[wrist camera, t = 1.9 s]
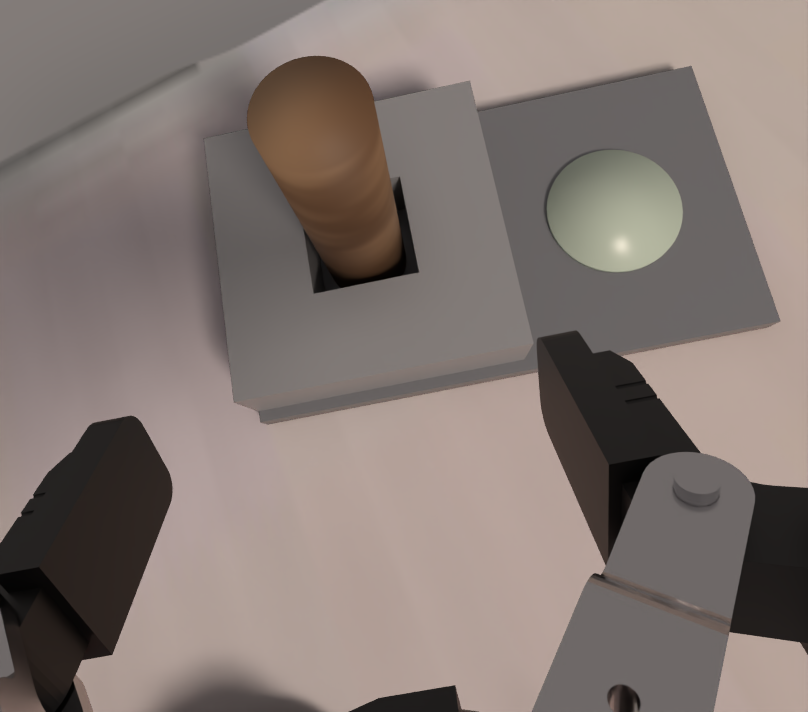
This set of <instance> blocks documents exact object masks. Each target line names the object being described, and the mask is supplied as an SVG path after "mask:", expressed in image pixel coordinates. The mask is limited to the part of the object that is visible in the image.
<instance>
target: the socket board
mask: <svg viewBox="0 0 808 712" xmlns="http://www.w3.org/2000/svg"><path fill="white" fill-rule="evenodd" d="M374 103H375V108H376V113H377V117H378V122H379V127H380V132H381V137H382V142H383V146H384V151H385V156H386V161H387V166H388V171H389V175H390V180H391V185H392V190H393V195H394V200H395V204H396V209H397V214H398V219H399V224H400V229H401V233H402V238H403V243H404V248H405V253H406V267H405V271H404V274H403V276H399V277H394V278H389V279H384V280H379V281H374V282H369V283H364V284H359V285H355V286H350V287H345V288H340V287H339V286H338V285H337V283H336V282H335V280H334V279H333V277H332V275H331V274H330V272H329V270H328V269H327V267H326V265H325V263H324V262H323V260H322V258H321V257H320V255H319V253H318V252H317V250H316V248H315V247H314V245H313V243H312V241H311V240H310V238H309V236H308V235H307V233H306V231H305V230H304V228H303V226H302V225H301V223H300V221H299V219H298V218H297V216H296V214H295V213H294V211H293V209H292V208H291V206H290V204H289V203H288V201H287V199H286V197H285V196H284V194H283V192H282V191H281V189H280V187H279V186H278V184H277V182H276V181H275V179H274V177H273V175H272V174H271V172H270V170H269V169H268V167H267V165H266V164H265V162H264V160H263V159H262V157H261V155H260V153H259V152H258V150H257V148H256V147H255V145H254V143H253V141H252V140H251V137H250V134H249V131H248V129H245V130H241V131H236V132H231V133H227V134H222V135H218V136H213V137H208V138H204V146H205V155H206V164H207V172H208V181H209V190H210V199H211V208H212V216H213V225H214V234H215V243H216V251H217V260H218V269H219V278H220V286H221V295H222V304H223V313H224V321H225V330H226V339H227V348H228V356H229V365H230V374H231V383H232V392H233V400H234V403H237V404H240V405H243V406H245V407H248V408H251V409H254V410H257V411H259V415H260V422H261V423H264V424H273V423H278V422H283V421H288V420H293V419H298V418H303V417H309V416H314V415H319V414H324V413H329V412H334V411H339V410H345V409H350V408H355V407H360V406H365V405H370V404H376V403H381V402H386V401H391V400H396V399H401V398H406V397H412V396H417V395H422V394H427V393H432V392H437V391H442V390H448V389H453V388H458V387H463V386H468V385H473V384H479V383H484V382H489V381H494V380H499V379H504V378H509V377H515V376H520V375H525V374H530V373H535V372H538V361H537V339H538V338H539V337H544V336H549V335H554V334H559V333H564V332H569V331H574V330H577V331H578V332H579V333H580V334H581V336H582V337H583V339H584V340H585V342H586V343H587V345H588V346H589V348H590V349H591V351H592V352H593V353H598V352H603V351H608V350H611V351H612V352H614V353H616V354H618V355H619V356H623V355H628V354H633V353H638V352H643V351H648V350H654V349H659V348H664V347H669V346H674V345H679V344H685V343H690V342H695V341H700V340H705V339H710V338H715V337H721V336H726V335H731V334H736V333H741V332H746V331H751V330H757V329H762V328H767V327H770V326H772V325H774V324H776V323H778V322H780V318H779V315H778V313H777V310H776V307H775V304H774V301H773V298H772V295H771V292H770V290H769V287H768V284H767V281H766V278H765V275H764V272H763V270H762V267H761V264H760V261H759V258H758V255H757V252H756V250H755V247H754V244H753V241H752V238H751V235H750V232H749V230H748V227H747V224H746V221H745V218H744V215H743V212H742V209H741V207H740V204H739V201H738V198H737V195H736V192H735V189H734V187H733V184H732V181H731V178H730V175H729V172H728V169H727V167H726V164H725V161H724V158H723V155H722V152H721V149H720V146H719V144H718V141H717V138H716V135H715V132H714V129H713V126H712V124H711V121H710V118H709V115H708V112H707V109H706V106H705V104H704V101H703V98H702V95H701V92H700V89H699V86H698V84H697V81H696V78H695V75H694V72H693V69H692V66H689V67H684V68H679V69H675V70H670V71H665V72H661V73H656V74H651V75H647V76H642V77H637V78H633V79H628V80H623V81H619V82H614V83H609V84H605V85H600V86H596V87H591V88H586V89H582V90H577V91H572V92H568V93H563V94H558V95H554V96H549V97H544V98H540V99H535V100H530V101H526V102H521V103H516V104H512V105H507V106H502V107H498V108H493V109H488V110H484V111H479V112H477V108H476V104H475V100H474V96H473V91H472V87H471V83H470V81H466V82H462V83H457V84H453V85H448V86H443V87H439V88H434V89H430V90H425V91H420V92H416V93H411V94H407V95H402V96H397V97H393V98H388V99H384V100H379V101H374Z"/></svg>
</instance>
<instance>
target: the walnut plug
mask: <svg viewBox="0 0 808 712" xmlns="http://www.w3.org/2000/svg"><path fill="white" fill-rule="evenodd" d="M247 126H248V131H249V134H250V137H251V140H252V141H253V143H254V145H255V147H256V148H257V150H258V152H259V153H260V155H261V157H262V159H263V160H264V162H265V164H266V165H267V167H268V169H269V170H270V172H271V174H272V175H273V177H274V179H275V181H276V182H277V184H278V186H279V187H280V189H281V191H282V192H283V194H284V196H285V197H286V199H287V201H288V203H289V204H290V206H291V208H292V209H293V211H294V213H295V214H296V216H297V218H298V219H299V221H300V223H301V225H302V226H303V228H304V230H305V231H306V233H307V235H308V236H309V238H310V240H311V241H312V243H313V245H314V247H315V248H316V250H317V252H318V253H319V255H320V257H321V258H322V260H323V262H324V263H325V265H326V267H327V269H328V270H329V272H330V274H331V275H332V277H333V279H334V280H335V282H336V283H337V285H338V286H339V287H340V288H345V287H350V286H355V285H359V284H364V283H369V282H374V281H379V280H384V279H389V278H394V277H399V276H403V274H404V271H405V267H406V253H405V248H404V243H403V238H402V233H401V229H400V224H399V219H398V214H397V209H396V204H395V200H394V195H393V190H392V185H391V180H390V175H389V171H388V166H387V161H386V156H385V151H384V146H383V142H382V137H381V132H380V127H379V122H378V117H377V113H376V108H375V103H374V98H373V94H372V91H371V89H370V86H369V84H368V83H367V81H366V80H365V78H364V77H363V76H362V75H361V73H360V72H359V71H357V70H356V69H355V68H354V67H352V66H351V65H349V64H348V63H345V62H343V61H341V60H338V59H335V58H331V57H326V56H308V57H302V58H298V59H294V60H292V61H289V62H287V63H285V64H283V65H281V66H279V67H277V68H276V69H275V70H273V71H272V72H271V73H269V74H268V75H267V76H266V77H265V78H264V79H263V80H262V81H261V82H260V84H259V85H258V87H257V88H256V89H255V91H254V93H253V95H252V97H251V100H250V103H249V107H248V112H247Z"/></svg>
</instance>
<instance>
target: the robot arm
mask: <svg viewBox="0 0 808 712" xmlns="http://www.w3.org/2000/svg"><path fill="white" fill-rule="evenodd" d="M537 361H538V375H539V388H540V401H541V409H542V414H543V418H544V422H545V426H546V429H547V432H548V434H549V436H550V439H551V441H552V443H553V446H554V448H555V450H556V452H557V455H558V457H559V459H560V462H561V464H562V466H563V468H564V471H565V473H566V475H567V478H568V480H569V482H570V485H571V487H572V489H573V491H574V494H575V496H576V498H577V501H578V503H579V505H580V507H581V510H582V512H583V514H584V517H585V519H586V521H587V523H588V526H589V528H590V530H591V533H592V535H593V537H594V539H595V542H596V544H597V546H598V549H599V551H600V553H601V555H602V558H603V560H604V562H605V565H606V567H605V569H604V571H603V572H602V574H601V575H599V574H596V573H594V574H592V576H591V577H590V578H589V580H588V581H587V583H586V585H585V587H584V589H583V591H582V593H581V596H580V598H579V601H578V603H577V605H576V608H575V610H574V612H573V615H572V617H571V620H570V622H569V624H568V627H567V629H566V632H565V634H564V636H563V639H562V641H561V643H560V646H559V648H558V651H557V653H556V655H555V658H554V660H553V663H552V665H551V667H550V670H549V672H548V674H547V677H546V679H545V682H544V684H543V686H542V689H541V691H540V693H539V696H538V698H537V701H536V703H535V705H534V708H533V710H532V712H713V711H714V706H715V701H716V696H717V691H718V686H719V681H720V676H721V671H722V666H723V661H724V656H725V651H726V646H727V641H728V636H729V632H733V633H740V634H747V635H754V636H760V637H767V638H774V639H781V640H788V641H795V642H800V643H801V644H802V646H803V648H804V649H805V651H806V653H807V654H808V488H800V487H785V486H771V485H762V484H757V483H752V482H750V481H749V480H748V479H747V477H746V476H745V475H744V474H743V473H742V472H741V471H740V470H738V469H737V468H736V467H734V466H733V465H731V464H729V463H728V462H726V461H724V460H721V459H719V458H717V457H714V456H710V455H707V454H702V453H700V451H699V450H698V449H697V447H696V446H695V445H694V443H693V442H692V441H691V440H690V438H689V437H688V436H687V434H686V433H685V432H684V430H683V429H682V428H681V426H680V425H679V424H678V422H677V421H676V420H675V418H674V417H673V416H672V414H671V413H670V412H669V411H668V409H667V408H666V407H665V405H664V404H663V403H662V401H661V400H660V399H657V395H656V393H655V392H654V391H653V389H652V388H651V387H650V385H649V384H646V380H645V379H644V378H643V376H642V375H641V374H640V372H639V371H638V370H637V368H636V367H635V366H634V364H633V363H632V362H630V361H628V360H626V359H625V358H623V357H621V356H619V355H618V354H616V353H614V352H612V351H611V350H608V351H603V352H598V353H593V352H592V351H591V349H590V348H589V346H588V345H587V343H586V342H585V340H584V339H583V337H582V336H581V334H580V333H579V332H578V331H577V330H574V331H569V332H564V333H559V334H554V335H549V336H544V337H539V338H538V339H537ZM33 496H34V498H33V499H30V500H29V502H28V503H27V505H26V506H25V508H24V509H23V511H22V512H21V514H22V516H21V517H18V518H17V520H16V521H15V523H14V524H13V526H12V527H11V528H10V530H9V531H8V533H7V534H6V536H5V537H4V539H3V540H2V542H1V543H0V712H93V709H92V706H91V704H90V701H89V698H88V695H87V692H86V689H85V686H84V684H83V682H82V681H81V680H80V679H79V678H78V677H77V675H76V672H77V670H78V668H79V665H80V663H81V661H82V660H86V659H91V658H97V657H103V656H108V655H112V654H113V652H114V649H115V646H116V644H117V641H118V639H119V636H120V633H121V631H122V628H123V626H124V623H125V620H126V618H127V615H128V612H129V610H130V607H131V605H132V602H133V599H134V597H135V594H136V592H137V589H138V586H139V584H140V581H141V579H142V576H143V573H144V571H145V568H146V565H147V563H148V560H149V558H150V555H151V552H152V550H153V547H154V545H155V542H156V539H157V537H158V534H159V532H160V529H161V526H162V524H163V521H164V519H165V516H166V513H167V511H168V508H169V505H170V503H171V499H172V481H171V477H170V474H169V471H168V469H167V467H166V466H165V464H164V462H163V460H162V459H161V457H160V455H159V453H158V451H157V450H156V448H155V446H154V444H153V443H152V441H151V439H150V437H149V435H148V434H147V432H146V430H145V428H144V427H143V425H142V423H141V422H140V421H139V419H137V418H136V417H134V416H126V417H121V418H116V419H111V420H106V421H101V422H96V423H93V424H91V425H90V426H89V427H88V428H87V430H86V431H85V433H84V434H83V436H82V437H81V439H80V440H79V442H78V444H77V445H76V447H75V448H74V450H73V451H72V453H69V454H68V455H67V456H66V457H65V458H64V459H63V460H62V461H60V462H59V463H58V464H57V465H56V466H55V467H54V468H53V469H52V470H51V471H49V472H48V473H47V475H46V476H45V478H44V479H43V481H42V482H41V484H40V485H39V487H38V488H37V490H36V491H35V493H34V494H33ZM350 712H477V711H470V710H462V709H461V706H460V702H459V698H458V694H457V691H456V687H455V685H454V686H448V687H442V688H436V689H430V690H424V691H418V692H412V693H407V694H401V695H395V696H389V697H383V698H378V699H376V700H374V701H372V702H369V703H367V704H365V705H363V706H361V707H358V708H356V709H354V710H352V711H350Z"/></svg>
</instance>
